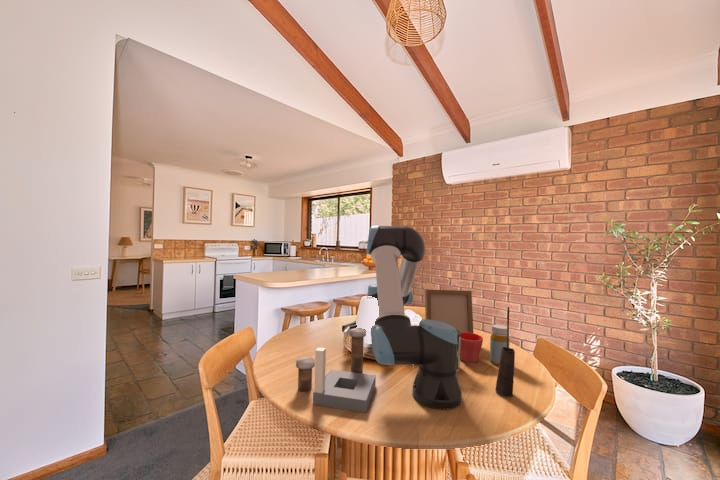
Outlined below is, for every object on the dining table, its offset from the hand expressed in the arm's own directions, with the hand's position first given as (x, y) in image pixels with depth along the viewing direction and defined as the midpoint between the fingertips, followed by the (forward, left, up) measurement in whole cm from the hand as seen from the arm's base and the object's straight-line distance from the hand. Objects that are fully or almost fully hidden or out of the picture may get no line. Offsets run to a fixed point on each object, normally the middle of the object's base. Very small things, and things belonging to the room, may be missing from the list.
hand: (361, 336), depth 117 cm
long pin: (-6, +8, -10) cm, 14 cm away
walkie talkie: (-47, -20, -11) cm, 53 cm away
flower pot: (-25, -38, -11) cm, 47 cm away
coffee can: (-23, -24, -11) cm, 35 cm away
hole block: (-14, +19, -10) cm, 26 cm away
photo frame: (-6, -52, -11) cm, 54 cm away
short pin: (-3, +27, -10) cm, 29 cm away
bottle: (-35, -44, -11) cm, 58 cm away
